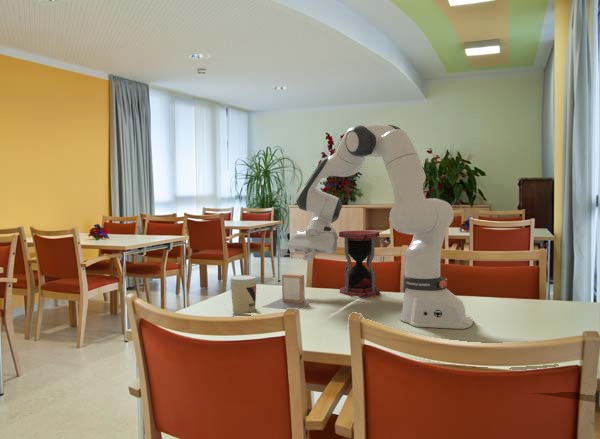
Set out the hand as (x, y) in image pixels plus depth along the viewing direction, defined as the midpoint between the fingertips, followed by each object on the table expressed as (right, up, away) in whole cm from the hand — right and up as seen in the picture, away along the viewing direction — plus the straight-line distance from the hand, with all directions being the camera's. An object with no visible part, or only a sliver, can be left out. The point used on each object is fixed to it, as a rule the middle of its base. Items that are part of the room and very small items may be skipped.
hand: (306, 259), depth 200 cm
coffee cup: (-22, -17, -20) cm, 35 cm away
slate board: (-7, -16, -13) cm, 22 cm away
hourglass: (+21, -14, +6) cm, 26 cm away
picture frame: (-5, -15, -10) cm, 18 cm away
